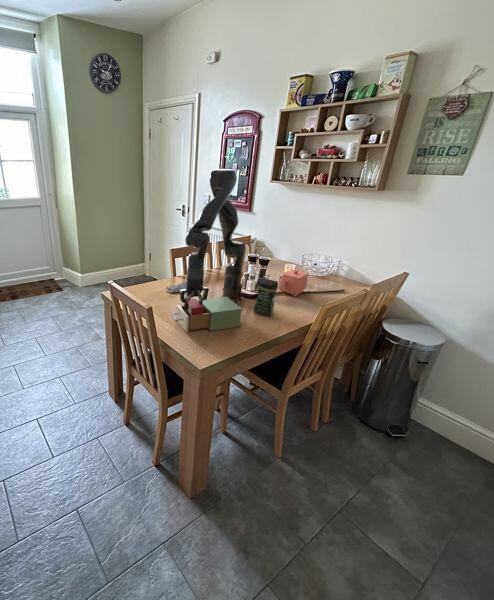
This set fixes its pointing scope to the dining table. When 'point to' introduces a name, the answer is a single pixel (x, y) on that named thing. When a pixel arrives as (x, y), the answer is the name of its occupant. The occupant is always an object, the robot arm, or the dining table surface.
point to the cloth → (177, 287)
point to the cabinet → (222, 313)
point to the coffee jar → (265, 296)
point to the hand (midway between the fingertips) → (193, 308)
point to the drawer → (191, 318)
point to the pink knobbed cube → (293, 282)
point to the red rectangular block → (194, 307)
